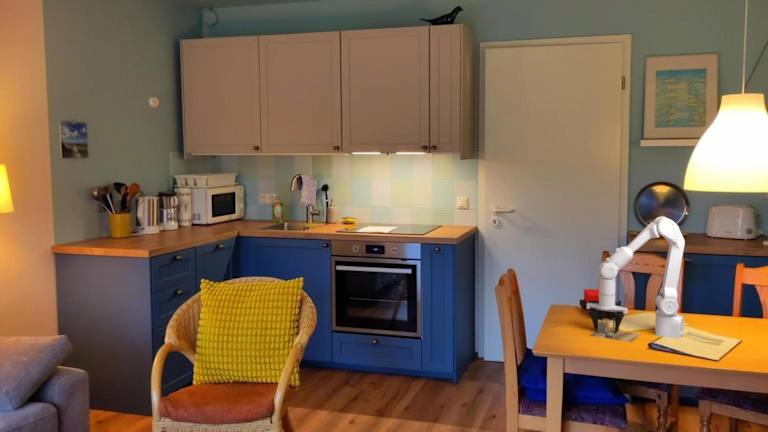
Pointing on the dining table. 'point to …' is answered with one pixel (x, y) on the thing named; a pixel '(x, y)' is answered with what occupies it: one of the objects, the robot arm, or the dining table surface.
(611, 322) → the tan capsule cylinder
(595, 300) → the red-and-black block model
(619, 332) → the subfloor panel
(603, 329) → the block
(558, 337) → the dining table surface
